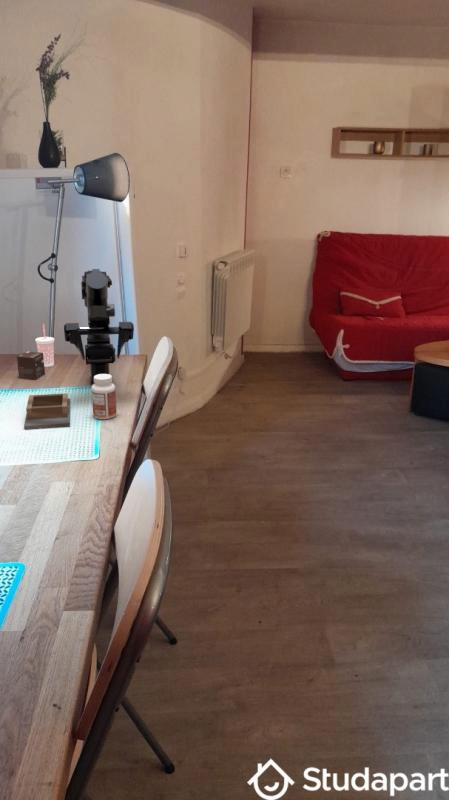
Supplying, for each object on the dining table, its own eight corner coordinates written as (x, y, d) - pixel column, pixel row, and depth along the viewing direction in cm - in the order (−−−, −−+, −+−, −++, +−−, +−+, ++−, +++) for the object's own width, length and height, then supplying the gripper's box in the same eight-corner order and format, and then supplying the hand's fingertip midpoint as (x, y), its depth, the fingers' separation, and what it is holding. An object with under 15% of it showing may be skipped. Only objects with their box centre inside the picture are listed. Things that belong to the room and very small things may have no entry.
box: (35, 380, 176) (33, 357, 173) (18, 378, 177) (16, 356, 174) (45, 374, 181) (43, 352, 179) (28, 372, 182) (26, 350, 180)
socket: (29, 403, 156) (28, 390, 155) (70, 401, 159) (69, 388, 158) (24, 429, 140) (22, 414, 139) (69, 426, 143) (68, 412, 141)
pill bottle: (113, 410, 154) (111, 371, 150) (119, 418, 149) (117, 378, 145) (90, 413, 152) (88, 374, 148) (96, 421, 146) (93, 381, 143)
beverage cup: (39, 362, 193) (35, 322, 188) (57, 362, 194) (54, 322, 189) (35, 367, 188) (32, 326, 183) (54, 367, 188) (51, 326, 183)
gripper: (61, 293, 150) (63, 344, 143) (132, 292, 154) (137, 342, 148) (64, 316, 159) (66, 365, 153) (130, 315, 164) (135, 362, 158)
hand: (101, 358), depth 153 cm, fingers open, 9 cm apart
